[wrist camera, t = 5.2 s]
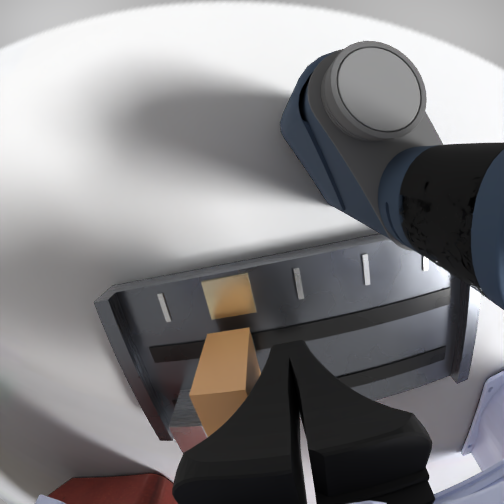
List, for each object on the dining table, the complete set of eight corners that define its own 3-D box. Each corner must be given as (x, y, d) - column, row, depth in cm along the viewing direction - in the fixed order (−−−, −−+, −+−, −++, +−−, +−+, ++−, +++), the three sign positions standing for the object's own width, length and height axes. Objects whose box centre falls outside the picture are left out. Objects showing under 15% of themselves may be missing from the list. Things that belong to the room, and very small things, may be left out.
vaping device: (334, 220, 14) (539, 400, 2) (268, 120, 13) (311, -96, 1) (380, 190, 13) (630, 275, 2) (316, 90, 12) (483, -98, 1)
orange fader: (261, 364, 14) (261, 441, 9) (224, 369, 14) (212, 445, 10) (249, 317, 14) (245, 389, 9) (210, 323, 14) (189, 395, 9)
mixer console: (452, 360, 16) (482, 397, 12) (168, 416, 17) (152, 464, 13) (459, 217, 13) (508, 234, 10) (112, 285, 15) (73, 320, 11)
